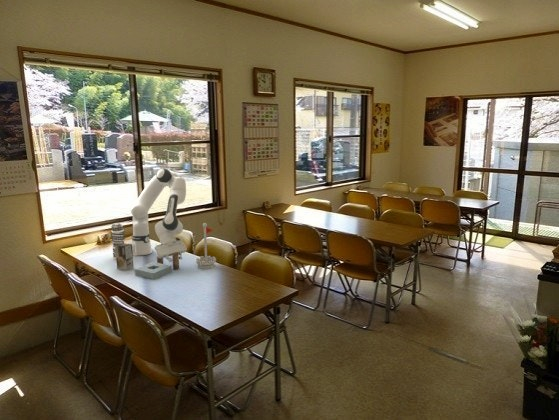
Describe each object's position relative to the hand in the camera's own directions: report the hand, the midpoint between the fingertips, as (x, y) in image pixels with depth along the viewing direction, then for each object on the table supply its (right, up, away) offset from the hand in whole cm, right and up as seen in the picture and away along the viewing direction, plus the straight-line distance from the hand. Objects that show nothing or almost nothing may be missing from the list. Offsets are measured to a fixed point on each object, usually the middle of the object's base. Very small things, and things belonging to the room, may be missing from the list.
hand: (176, 260), depth 265 cm
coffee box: (-35, -6, +5) cm, 36 cm away
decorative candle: (-48, -1, +27) cm, 55 cm away
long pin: (0, -6, +2) cm, 6 cm away
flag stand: (+19, -5, +7) cm, 21 cm away
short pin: (-13, -5, +8) cm, 16 cm away
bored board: (-13, -8, -6) cm, 16 cm away
